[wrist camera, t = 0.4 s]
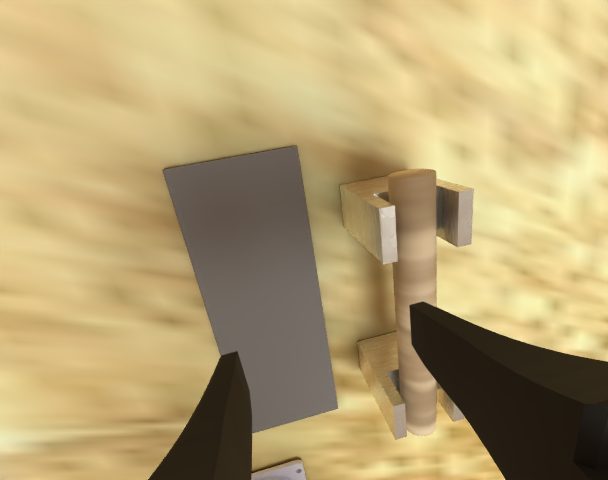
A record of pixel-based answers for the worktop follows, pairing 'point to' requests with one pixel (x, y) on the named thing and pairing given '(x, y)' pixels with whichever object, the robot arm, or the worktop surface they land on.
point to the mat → (259, 277)
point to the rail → (414, 287)
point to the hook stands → (383, 245)
